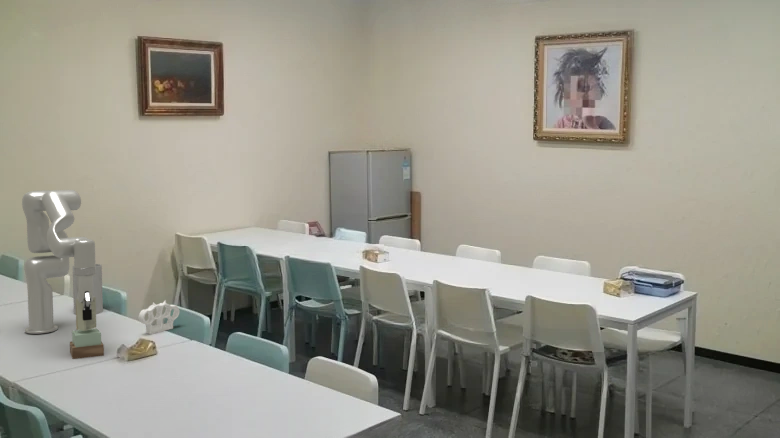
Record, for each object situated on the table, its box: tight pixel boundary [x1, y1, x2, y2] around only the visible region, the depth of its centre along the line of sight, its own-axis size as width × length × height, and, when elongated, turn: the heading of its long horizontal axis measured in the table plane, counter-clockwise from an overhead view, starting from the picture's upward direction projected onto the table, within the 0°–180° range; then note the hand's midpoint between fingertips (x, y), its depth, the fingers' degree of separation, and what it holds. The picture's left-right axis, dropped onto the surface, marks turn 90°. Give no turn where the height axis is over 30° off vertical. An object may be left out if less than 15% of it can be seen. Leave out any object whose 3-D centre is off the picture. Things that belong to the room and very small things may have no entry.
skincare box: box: [75, 297, 97, 331], centre depth 288 cm, size 6×4×12 cm
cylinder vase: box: [72, 263, 104, 316], centre depth 350 cm, size 12×12×25 cm
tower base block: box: [69, 340, 105, 360], centre depth 289 cm, size 11×11×4 cm
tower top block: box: [71, 327, 102, 347], centre depth 289 cm, size 9×9×4 cm
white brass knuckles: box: [138, 300, 180, 335], centre depth 320 cm, size 3×18×15 cm, turn 142°
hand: (86, 317), depth 288 cm, fingers closed on skincare box, 7 cm apart
